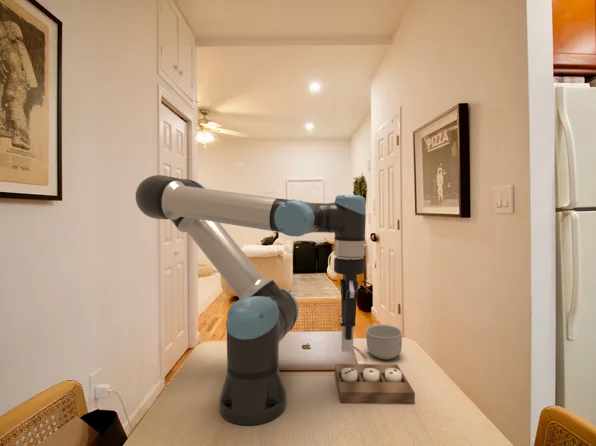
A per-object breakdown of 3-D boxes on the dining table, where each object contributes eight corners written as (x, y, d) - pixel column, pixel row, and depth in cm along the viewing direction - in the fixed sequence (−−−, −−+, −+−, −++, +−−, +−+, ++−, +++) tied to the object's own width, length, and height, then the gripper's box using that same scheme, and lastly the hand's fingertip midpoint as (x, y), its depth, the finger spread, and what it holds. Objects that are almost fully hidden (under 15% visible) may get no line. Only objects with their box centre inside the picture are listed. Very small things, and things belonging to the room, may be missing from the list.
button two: (387, 386, 79) (387, 375, 79) (383, 378, 83) (383, 367, 83) (403, 386, 79) (403, 375, 79) (398, 378, 83) (399, 367, 83)
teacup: (406, 363, 94) (406, 336, 94) (369, 363, 94) (369, 336, 94) (393, 344, 108) (393, 320, 107) (361, 344, 108) (361, 320, 108)
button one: (364, 386, 79) (364, 375, 79) (361, 378, 83) (361, 367, 83) (381, 386, 79) (381, 375, 79) (377, 378, 83) (377, 367, 83)
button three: (342, 386, 79) (342, 375, 79) (340, 377, 83) (340, 367, 83) (358, 386, 79) (358, 375, 79) (356, 378, 83) (356, 367, 83)
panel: (340, 402, 74) (340, 392, 74) (334, 373, 88) (334, 364, 88) (414, 403, 74) (414, 392, 74) (397, 373, 88) (397, 364, 88)
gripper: (369, 261, 74) (367, 362, 74) (359, 254, 87) (357, 340, 87) (336, 260, 74) (334, 361, 75) (332, 253, 87) (330, 339, 88)
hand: (347, 350), depth 81 cm, fingers closed
